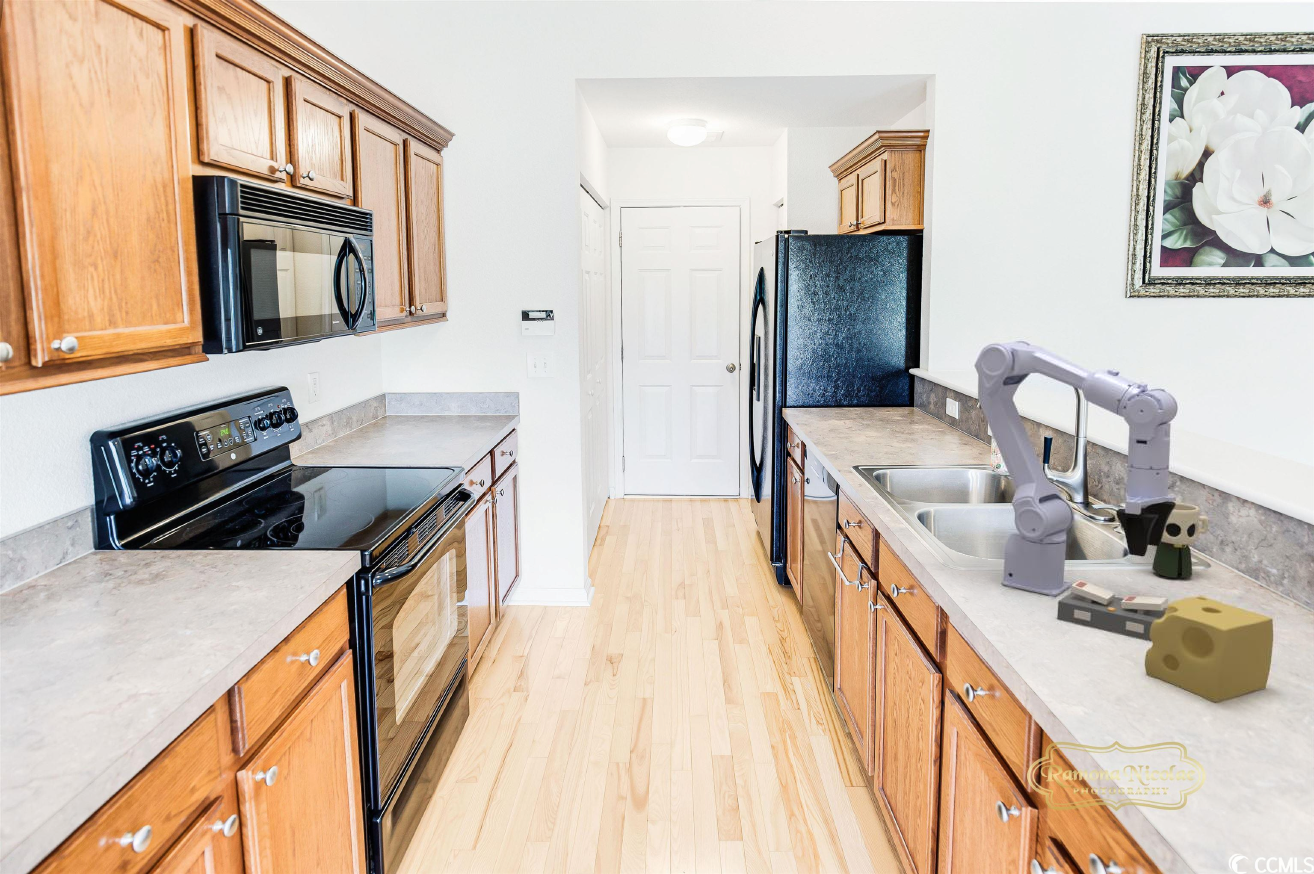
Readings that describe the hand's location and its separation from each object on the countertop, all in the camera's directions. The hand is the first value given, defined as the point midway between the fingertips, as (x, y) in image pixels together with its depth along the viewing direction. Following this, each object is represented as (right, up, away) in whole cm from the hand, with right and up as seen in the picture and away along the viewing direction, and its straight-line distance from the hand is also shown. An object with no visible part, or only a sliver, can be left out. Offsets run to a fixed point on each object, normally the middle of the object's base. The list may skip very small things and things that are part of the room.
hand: (1144, 550), depth 140 cm
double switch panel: (-6, -11, -3) cm, 13 cm away
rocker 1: (-9, -7, -1) cm, 11 cm away
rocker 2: (-4, -7, -7) cm, 10 cm away
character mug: (+16, -7, +20) cm, 26 cm away
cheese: (-5, -15, -24) cm, 28 cm away
